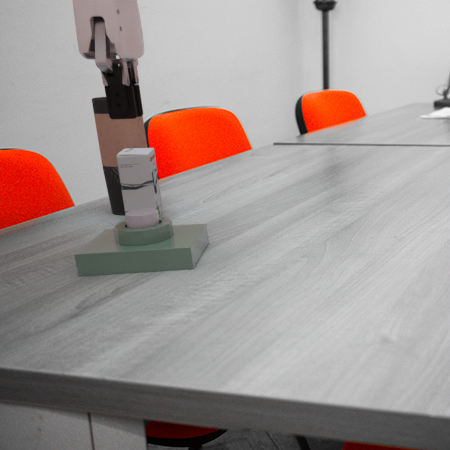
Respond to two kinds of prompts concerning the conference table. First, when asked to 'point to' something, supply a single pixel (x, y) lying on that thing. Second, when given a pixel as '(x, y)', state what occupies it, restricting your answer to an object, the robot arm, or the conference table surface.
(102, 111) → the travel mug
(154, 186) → the ink box
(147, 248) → the green base with button
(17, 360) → the conference table surface
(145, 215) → the pump button
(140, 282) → the conference table surface
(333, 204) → the conference table surface
